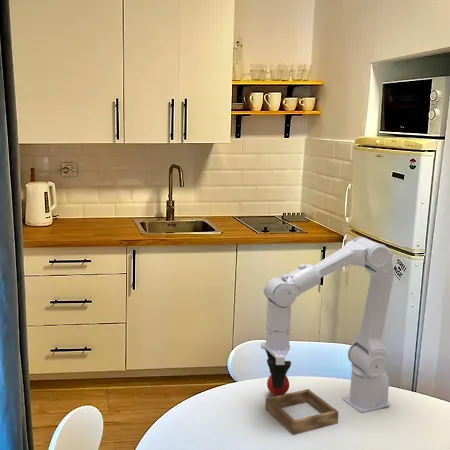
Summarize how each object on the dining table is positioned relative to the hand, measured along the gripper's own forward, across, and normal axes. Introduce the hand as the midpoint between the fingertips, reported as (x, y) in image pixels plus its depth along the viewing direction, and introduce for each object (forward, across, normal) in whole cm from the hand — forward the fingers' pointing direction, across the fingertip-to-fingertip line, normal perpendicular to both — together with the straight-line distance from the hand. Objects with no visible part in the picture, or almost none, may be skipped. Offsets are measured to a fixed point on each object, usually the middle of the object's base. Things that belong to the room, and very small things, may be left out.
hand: (275, 380), depth 145 cm
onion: (+10, -10, +2) cm, 14 cm away
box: (+10, 0, +7) cm, 12 cm away
